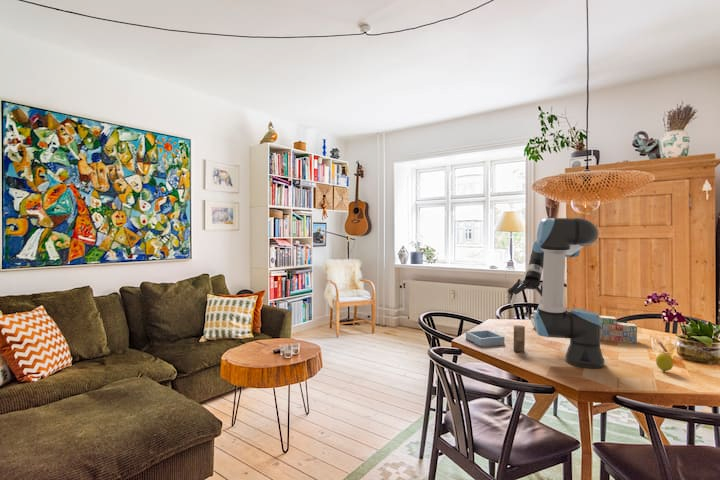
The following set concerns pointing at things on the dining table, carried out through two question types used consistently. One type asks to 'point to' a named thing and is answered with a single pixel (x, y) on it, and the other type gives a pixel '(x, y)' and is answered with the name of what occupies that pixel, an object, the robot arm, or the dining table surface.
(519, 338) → the brown rectangular block
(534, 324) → the lidded jar
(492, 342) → the bin
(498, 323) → the dining table surface
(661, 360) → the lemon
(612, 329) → the stack of blocks
